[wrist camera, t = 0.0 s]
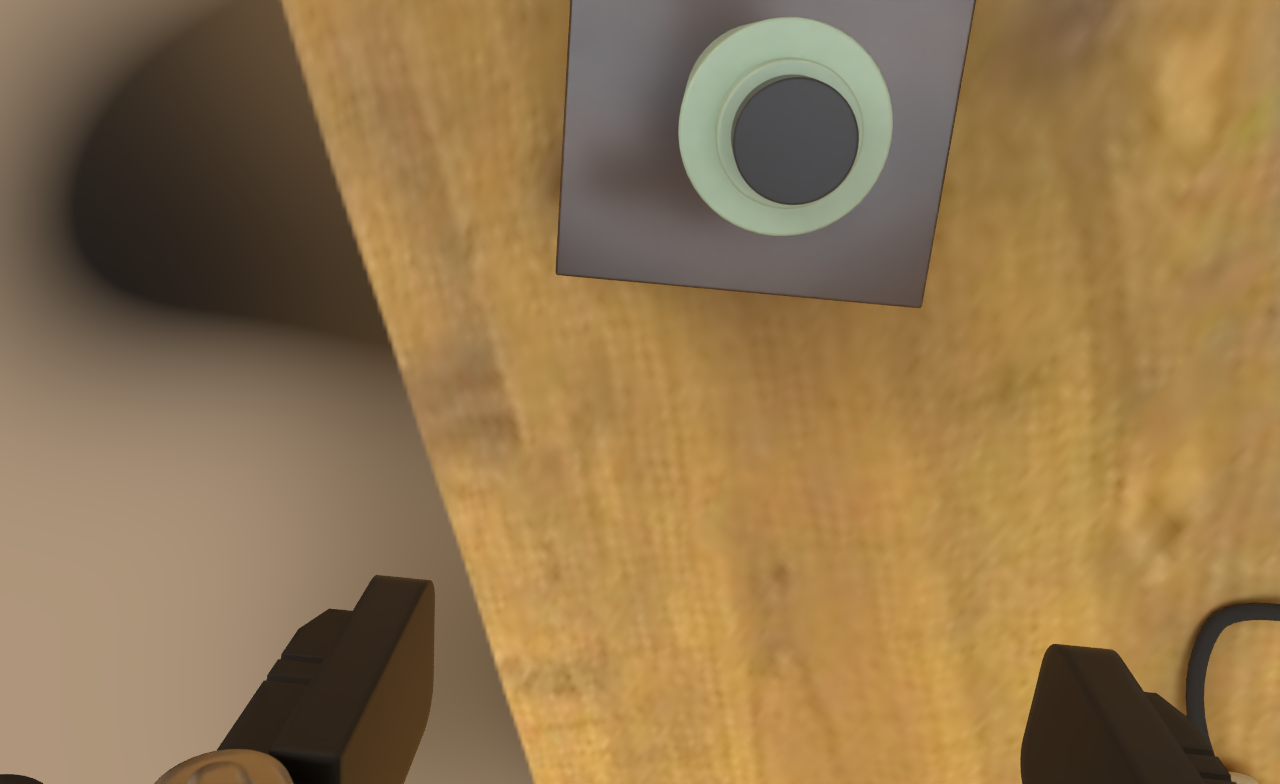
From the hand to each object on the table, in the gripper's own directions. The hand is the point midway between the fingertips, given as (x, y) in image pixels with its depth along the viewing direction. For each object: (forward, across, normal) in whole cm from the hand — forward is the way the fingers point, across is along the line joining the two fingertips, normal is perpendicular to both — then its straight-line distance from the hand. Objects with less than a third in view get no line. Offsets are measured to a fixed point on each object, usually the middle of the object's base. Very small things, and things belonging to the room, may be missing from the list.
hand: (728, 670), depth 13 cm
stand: (+29, -1, -6) cm, 30 cm away
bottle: (+21, -1, -6) cm, 22 cm away
